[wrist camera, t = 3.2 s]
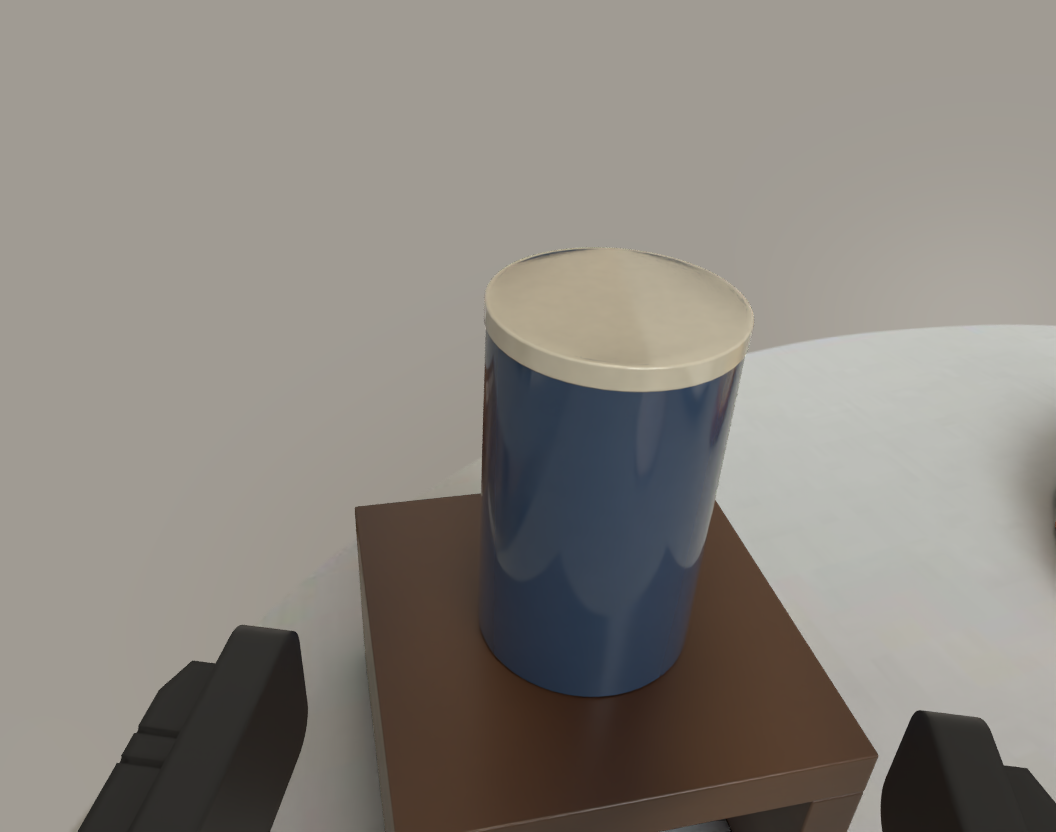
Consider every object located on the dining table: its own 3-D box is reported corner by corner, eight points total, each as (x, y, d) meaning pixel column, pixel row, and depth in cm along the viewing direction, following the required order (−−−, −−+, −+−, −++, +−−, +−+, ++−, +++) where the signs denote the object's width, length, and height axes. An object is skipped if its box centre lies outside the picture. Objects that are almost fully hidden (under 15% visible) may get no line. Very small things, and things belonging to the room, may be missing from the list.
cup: (499, 716, 23) (517, 379, 18) (458, 555, 28) (463, 251, 22) (722, 681, 24) (804, 356, 19) (646, 533, 29) (693, 241, 24)
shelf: (404, 1000, 24) (396, 847, 20) (364, 653, 34) (354, 506, 30) (816, 906, 26) (880, 755, 23) (670, 610, 36) (696, 469, 32)
